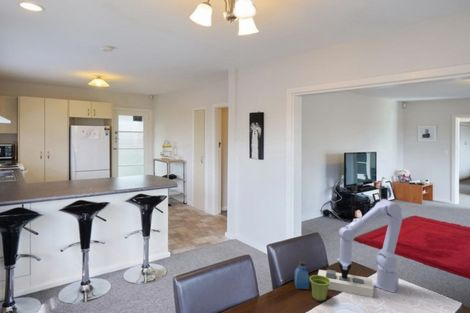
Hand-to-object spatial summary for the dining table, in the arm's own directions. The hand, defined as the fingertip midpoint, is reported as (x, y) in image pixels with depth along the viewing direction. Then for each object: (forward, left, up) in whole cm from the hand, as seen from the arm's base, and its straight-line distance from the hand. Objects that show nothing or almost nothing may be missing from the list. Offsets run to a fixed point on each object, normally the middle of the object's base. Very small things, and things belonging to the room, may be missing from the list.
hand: (344, 278), depth 154 cm
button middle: (0, 0, -4) cm, 4 cm away
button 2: (-6, -2, -4) cm, 8 cm away
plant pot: (+4, +19, -5) cm, 20 cm away
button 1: (+6, +3, -2) cm, 7 cm away
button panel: (0, 0, -4) cm, 4 cm away
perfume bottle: (+16, +15, -5) cm, 22 cm away
